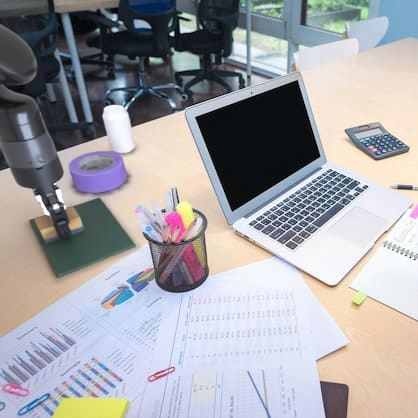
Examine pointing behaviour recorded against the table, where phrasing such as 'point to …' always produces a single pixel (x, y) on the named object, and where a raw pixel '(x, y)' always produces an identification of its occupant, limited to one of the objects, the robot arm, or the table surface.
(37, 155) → the robot arm
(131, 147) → the beverage can
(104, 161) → the tape roll
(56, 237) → the eraser
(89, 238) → the chalkboard
